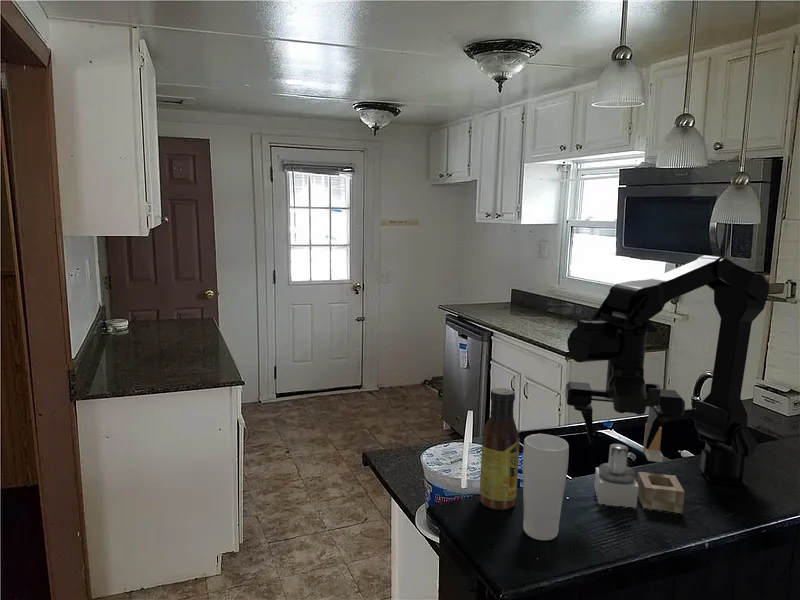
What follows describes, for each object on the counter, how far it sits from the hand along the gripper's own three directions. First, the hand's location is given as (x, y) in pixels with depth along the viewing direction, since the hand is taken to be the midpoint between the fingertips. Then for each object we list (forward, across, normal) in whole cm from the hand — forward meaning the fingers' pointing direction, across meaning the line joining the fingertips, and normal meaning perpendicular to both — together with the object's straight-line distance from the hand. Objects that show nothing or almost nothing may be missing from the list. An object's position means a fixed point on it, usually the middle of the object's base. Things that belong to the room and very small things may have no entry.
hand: (618, 445), depth 101 cm
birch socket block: (+10, +7, 0) cm, 12 cm away
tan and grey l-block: (+4, +7, +7) cm, 11 cm away
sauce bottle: (+10, -20, -7) cm, 24 cm away
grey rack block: (+10, 0, 0) cm, 10 cm away
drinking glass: (+10, -13, -15) cm, 22 cm away
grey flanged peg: (+10, 0, 0) cm, 10 cm away
